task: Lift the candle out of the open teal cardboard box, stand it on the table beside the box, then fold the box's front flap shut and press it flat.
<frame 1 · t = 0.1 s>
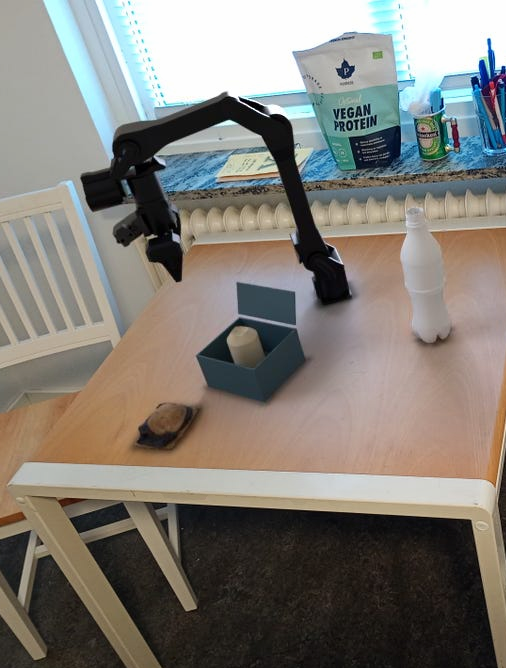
hand: (178, 270, 141), 15 cm above the table, tool pointing down, fingers open, 9 cm apart
water bottle: (433, 335, 134), on the table
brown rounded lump: (168, 428, 126), on the table
carton: (257, 373, 134), on the table
flap: (265, 303, 132), point 11 cm above the table, hinge at 110.0°
candle: (255, 375, 134), resting on carton
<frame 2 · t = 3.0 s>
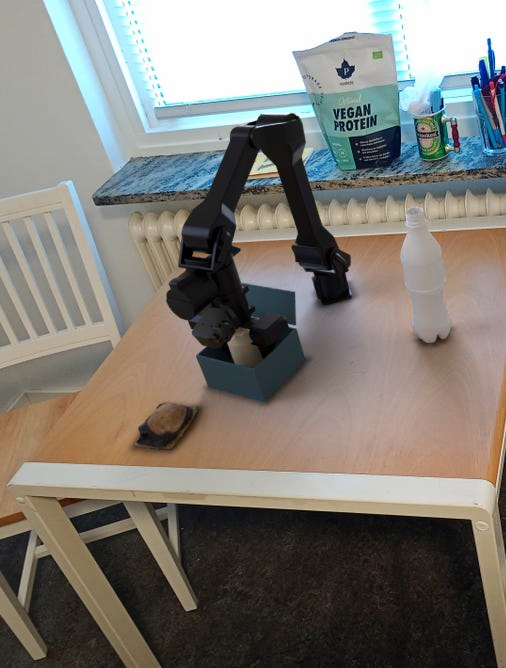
hand: (250, 360, 132), 4 cm above the table, tool pointing down, fingers open, 8 cm apart
nothing on the table moved.
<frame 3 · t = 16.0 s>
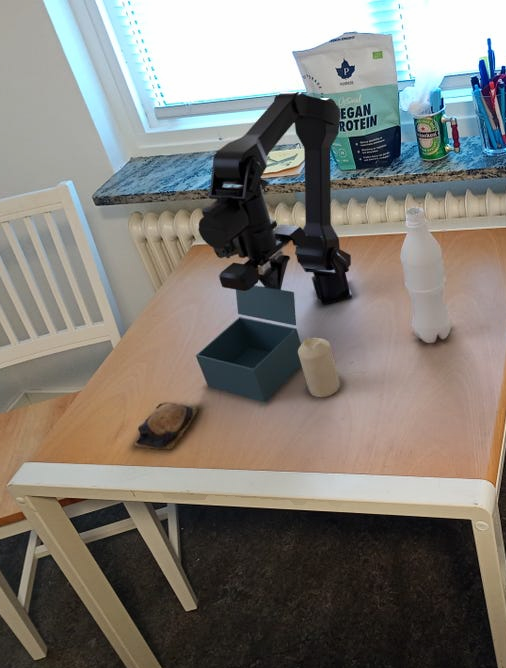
hand: (276, 296, 134), 10 cm above the table, tool pointing down, fingers closed
flap: (265, 303, 132), point 11 cm above the table, hinge at 106.8°, touching gripper
candle: (324, 388, 127), on the table
everything else where it was.
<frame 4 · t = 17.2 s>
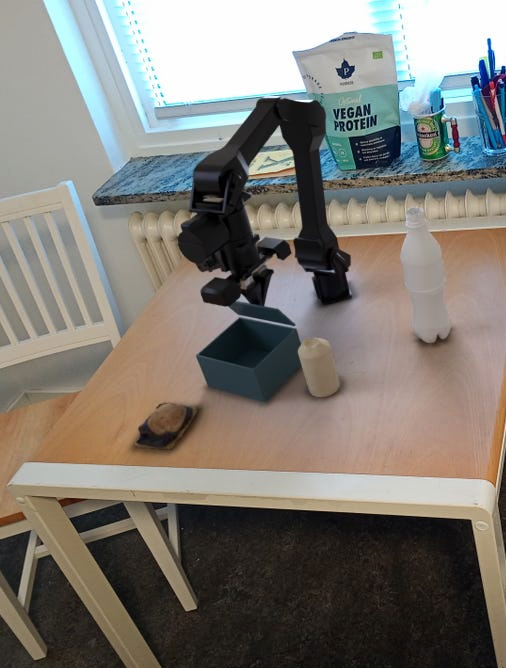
hand: (260, 311, 131), 10 cm above the table, tool pointing down, fingers closed
flap: (257, 311, 131), point 11 cm above the table, hinge at 60.3°, touching gripper
everything else where it was.
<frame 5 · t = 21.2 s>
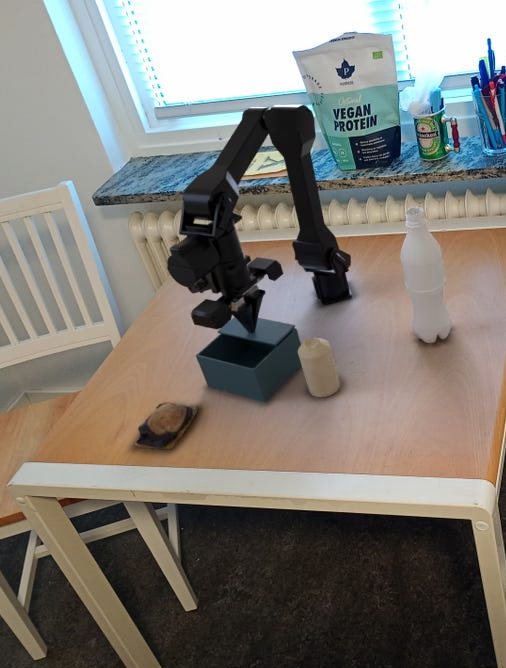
hand: (251, 331, 131), 8 cm above the table, tool pointing down, fingers closed, pressing on flap
flap: (256, 329, 131), point 8 cm above the table, hinge at 0.8°, touching gripper
everything else where it was.
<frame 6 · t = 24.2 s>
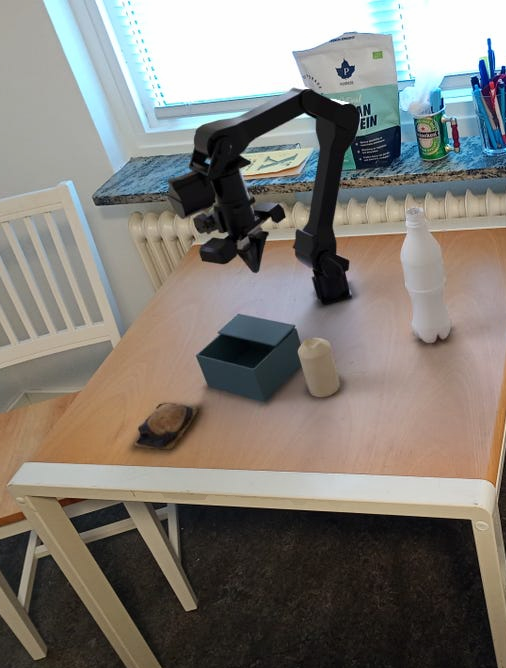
hand: (255, 272, 138), 13 cm above the table, tool pointing down, fingers closed
flap: (256, 329, 131), point 8 cm above the table, hinge at -0.6°
everything else where it was.
at the end: candle inside the target area (0.1 cm from its centre), on the table; candle tilted 0°; flap at -1° (first picture: +110°) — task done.
